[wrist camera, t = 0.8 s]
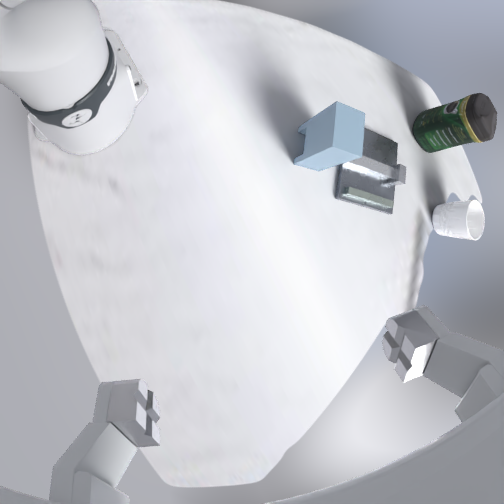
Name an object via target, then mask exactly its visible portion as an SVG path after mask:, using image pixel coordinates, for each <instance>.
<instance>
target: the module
mask: <svg viewBox="0 0 504 504" xmlns="http://www.w3.org/2000/svg"><path fill="white" fill-rule="evenodd" d="M364 124H365V113H364V112H361V111H359V110H357V109H354V108H352V107H350V106H347V105H345V104H342V103H340V102H337V101H336V102H335V103H333V104H332V105H330V106H329V107H327V108H326V109H324V110H323V111H321V112H320V113H319V114H317V115H316V116H314V117H313V118H311V119H310V120H308V121H307V122H306V123H304V124H303V125H301V126H300V127H299V130H298V133H301V134H304V135H306V136H305V144H304V151H303V154H302V155H300V156H298V157H296V158H294V165H298V166H302V167H305V168H309V169H312V170H316V171H321V170H324V169H327V168H330V167H333V166H336V165H339V164H342V163H345V162H349V161H352V160H355V159H358V158H361V157H362V152H363V139H364Z"/></svg>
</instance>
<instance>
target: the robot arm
mask: <svg viewBox="0 0 504 504" xmlns="http://www.w3.org/2000/svg"><path fill="white" fill-rule="evenodd" d="M0 83H1V84H3V85H4V86H5V87H7V88H8V89H10V90H11V91H12V92H14V93H15V94H16V95H17V96H19V97H20V99H21V101H22V103H23V105H24V106H25V108H26V110H27V111H28V112H29V114H28V119H29V120H30V122H31V123H32V124H33V125H34V126H35V136H36V137H37V138H38V139H39V140H41V141H44V142H51V143H53V144H55V145H56V146H57V147H59V148H60V149H61V150H63V151H65V152H67V153H70V154H74V155H87V154H92V153H95V152H98V151H100V150H102V149H104V148H106V147H108V146H109V145H111V144H112V143H113V142H115V141H116V140H117V139H118V138H119V137H120V136H121V135H122V133H123V132H124V131H125V130H126V128H127V126H128V125H129V123H130V121H131V119H132V116H133V113H134V110H135V108H136V106H137V105H138V104H139V103H140V102H141V101H142V99H143V98H144V97H145V96H146V94H147V92H148V87H147V85H146V83H145V81H144V80H143V78H142V76H141V75H140V73H139V71H138V69H137V68H136V66H135V64H134V63H133V61H132V59H131V58H130V56H129V54H128V52H127V51H126V49H125V47H124V46H123V44H122V42H121V41H120V39H119V37H118V35H117V34H116V32H114V31H108V30H105V31H104V29H103V26H102V22H101V18H100V14H99V11H98V8H97V7H96V5H95V4H94V3H93V2H92V1H91V0H0ZM136 83H139V85H138V86H135V84H136ZM385 327H386V328H387V330H388V331H387V332H386V333H385V335H384V336H383V350H384V352H385V355H386V357H387V358H388V360H389V361H391V362H394V363H396V364H395V371H396V372H397V374H398V375H399V376H400V378H401V380H402V381H403V383H404V382H407V381H409V380H411V379H414V378H416V377H418V376H420V375H422V374H423V376H425V377H426V378H428V379H430V380H431V381H433V382H435V383H437V384H439V385H440V386H442V387H444V388H446V389H447V390H449V391H451V392H452V393H454V394H456V395H458V396H459V397H461V398H462V399H461V400H460V402H459V403H458V405H457V406H456V408H455V412H456V414H457V415H458V417H459V419H460V420H461V422H462V423H461V424H459V425H458V426H456V427H455V428H453V429H452V430H450V431H448V432H447V433H445V434H444V435H442V436H440V437H439V438H437V439H435V440H433V441H432V442H430V443H428V444H427V445H424V446H423V447H421V448H419V449H417V450H415V451H413V452H411V453H409V454H408V455H405V456H403V457H401V458H399V459H398V460H395V461H393V462H391V463H389V464H386V465H384V466H382V467H380V468H377V469H375V470H373V471H370V472H368V473H365V474H363V475H360V476H358V477H355V478H353V479H350V480H347V481H344V482H341V483H339V484H336V485H333V486H330V487H327V488H323V489H320V490H317V491H314V492H310V493H306V494H303V495H299V496H295V497H291V498H287V499H283V500H278V501H274V502H269V503H264V504H504V350H501V349H498V348H496V347H493V346H490V345H487V344H485V343H482V342H480V341H477V340H475V339H472V338H469V337H467V336H464V335H461V334H459V333H456V332H452V333H450V331H449V330H448V329H447V328H446V327H445V326H444V324H443V323H442V322H441V321H440V320H439V319H438V318H437V317H436V315H435V314H434V313H433V312H432V311H431V310H430V309H429V308H428V307H427V306H425V305H422V306H420V307H417V308H415V309H412V310H409V311H406V312H404V313H401V314H399V315H396V316H394V317H391V318H389V319H388V320H387V321H386V326H385ZM159 418H160V408H159V403H158V400H157V398H156V396H155V394H154V393H153V392H151V391H149V390H148V384H147V383H146V381H145V380H144V379H134V380H123V381H111V382H102V383H101V384H100V385H99V389H98V394H97V400H96V405H95V411H94V417H93V423H89V424H88V425H87V426H86V427H85V428H84V430H83V431H82V432H81V433H80V434H79V436H78V437H77V438H76V439H75V441H74V442H73V443H72V444H71V445H70V447H69V448H68V449H67V450H66V452H65V453H64V454H63V456H61V458H60V459H59V460H58V461H57V463H56V464H55V465H54V466H53V471H52V479H51V487H50V497H49V500H46V499H42V498H38V497H34V496H31V495H27V494H23V493H21V492H18V491H14V490H11V489H8V488H6V487H3V486H0V504H129V497H128V496H127V495H126V494H124V493H122V492H121V491H119V490H117V489H115V488H116V486H117V484H118V483H119V481H120V479H121V477H122V476H123V474H124V472H125V470H126V468H127V466H128V465H129V463H130V461H131V460H132V458H133V456H134V454H135V453H136V451H137V449H138V448H137V447H148V446H159V445H160V428H159V427H158V426H157V425H156V422H157V421H158V420H159Z"/></svg>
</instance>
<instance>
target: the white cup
mask: <svg viewBox="0 0 504 504" xmlns="http://www.w3.org/2000/svg"><path fill="white" fill-rule="evenodd" d="M432 223H433V227H434V229H435V231H436V232H437V233H438V234H440V235H444V236H449V237H456V238H463V239H471V240H478V239H479V238H480V237H481V235H482V233H483V230H484V212H483V209H482V206H481V204H480V203H479V202H478V201H477V200H468V201H457V202H451V203H446V204H439V205H437V206H436V207H435V209H434V211H433V215H432Z"/></svg>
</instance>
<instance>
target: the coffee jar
mask: <svg viewBox="0 0 504 504" xmlns="http://www.w3.org/2000/svg"><path fill="white" fill-rule="evenodd" d="M496 121H497V112H496V110H495V108H494V106H493V104H492V102H491V100H490V99H489V97H488V96H486V95H484V94H482V93H477V94H472V95H469V96H467V97H465V98H463V99H460V100H458V101H455V102H452V103H448V104H445V105H442V106H438V107H435V108H432V109H428V110H425V111H423V112H421V113H420V115H419V116H418V117H417V119H416V121H415V123H414V126H413V132H414V136H415V138H416V140H417V142H418V143H419V145H420V146H421V147H422V148H423V149H424V150H425V151H426V152H428V153H432V152H436V151H440V150H444V149H447V148H451V147H454V146H458V145H462V144H467V143H472V142H478V143H479V142H485V141H488V140H491V139H492V138H493V137H494V133H495V129H496V123H497V122H496Z"/></svg>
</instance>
